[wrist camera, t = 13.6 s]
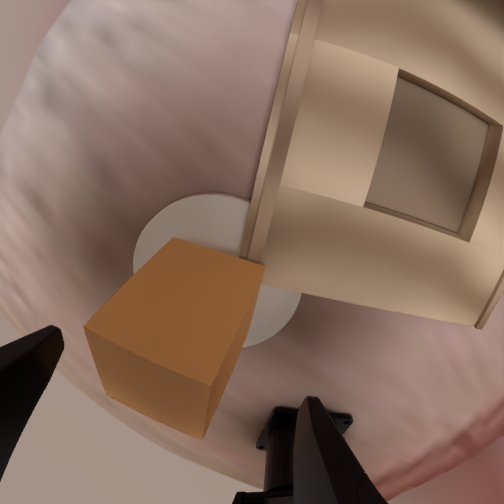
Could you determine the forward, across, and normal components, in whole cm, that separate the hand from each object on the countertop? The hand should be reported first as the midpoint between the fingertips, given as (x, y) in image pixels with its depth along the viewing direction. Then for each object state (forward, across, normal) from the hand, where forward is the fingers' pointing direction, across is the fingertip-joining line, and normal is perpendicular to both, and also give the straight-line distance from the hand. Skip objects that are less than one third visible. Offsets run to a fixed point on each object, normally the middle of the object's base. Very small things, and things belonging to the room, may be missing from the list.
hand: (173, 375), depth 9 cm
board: (+8, -9, -14) cm, 19 cm away
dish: (+8, 0, 0) cm, 8 cm away
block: (+6, 0, 0) cm, 6 cm away
